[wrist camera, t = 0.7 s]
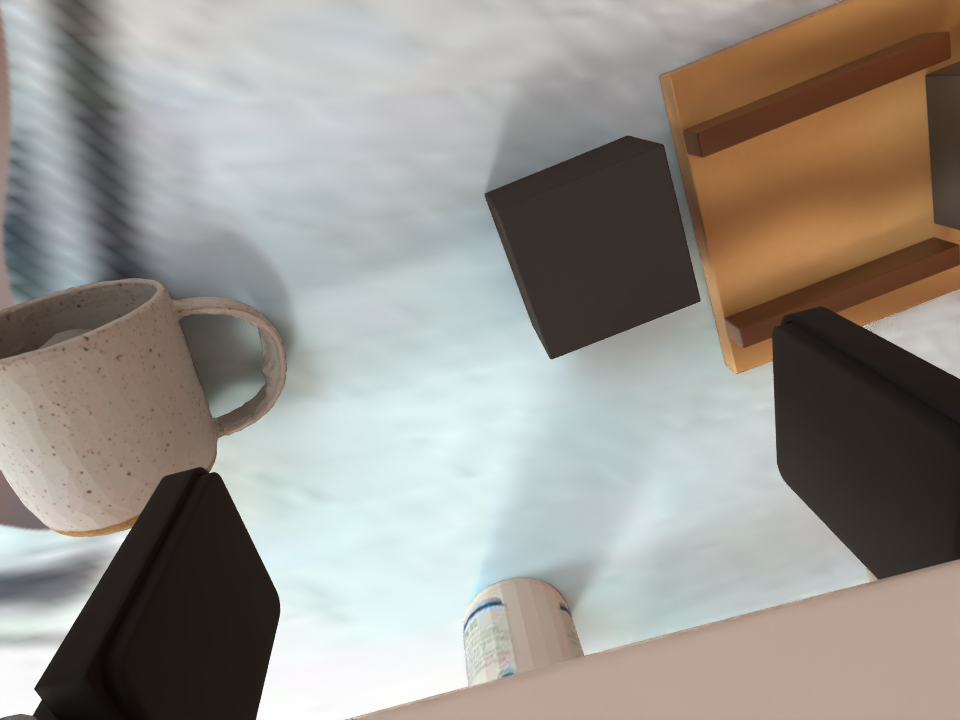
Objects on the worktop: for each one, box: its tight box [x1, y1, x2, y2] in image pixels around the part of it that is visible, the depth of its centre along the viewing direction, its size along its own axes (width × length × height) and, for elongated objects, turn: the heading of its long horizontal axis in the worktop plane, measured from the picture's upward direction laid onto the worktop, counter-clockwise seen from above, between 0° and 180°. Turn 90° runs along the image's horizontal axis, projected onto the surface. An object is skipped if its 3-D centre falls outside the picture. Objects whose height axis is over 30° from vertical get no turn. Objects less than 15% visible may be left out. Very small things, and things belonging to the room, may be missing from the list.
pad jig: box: [659, 0, 960, 374], centre depth 26 cm, size 14×19×4 cm
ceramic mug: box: [0, 278, 287, 537], centre depth 25 cm, size 11×8×8 cm
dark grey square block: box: [485, 136, 700, 359], centre depth 26 cm, size 6×6×4 cm
